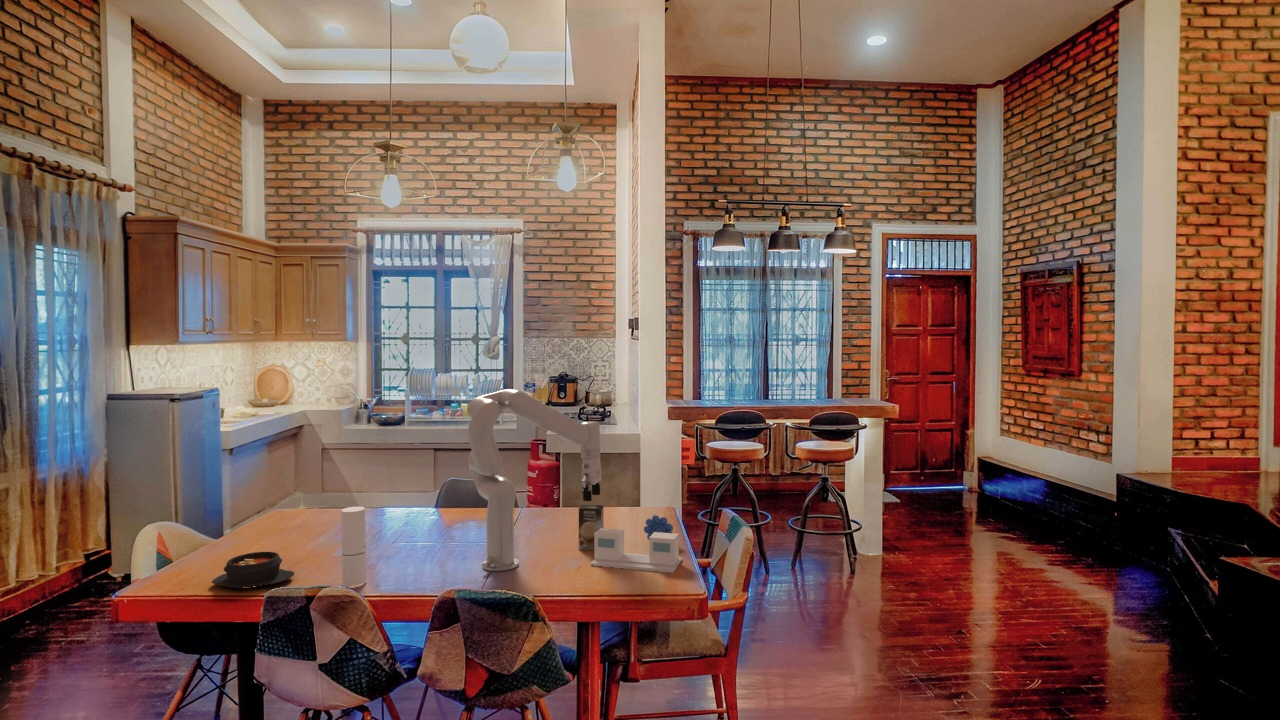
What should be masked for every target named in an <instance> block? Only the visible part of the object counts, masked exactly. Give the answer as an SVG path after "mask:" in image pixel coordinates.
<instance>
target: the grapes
mask: <svg viewBox="0 0 1280 720" xmlns="http://www.w3.org/2000/svg"><path fill="white" fill-rule="evenodd" d="M645 524H646V525H645V526H644V528H643V531H644V532H645V534H647V536H646V537H647V540H648V541H649V537H650V536H651V535H652V534H653V533H654V532H660V533H673V532H672V531H673V529H674V526H673V524H671V523H670V522H669V523H668V518H666V517H663V516H661V517H659V516H658V515H656V514H654V515H652V517H651V518H647V519H645Z"/></svg>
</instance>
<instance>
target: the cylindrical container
mask: <svg viewBox="0 0 1280 720" xmlns="http://www.w3.org/2000/svg"><path fill="white" fill-rule="evenodd" d="M340 513H341V519H340V521H341V556H342V557H341V562H342V564H341V565H342V566H341V567H342V568H341V569H342V587H343V586H347V587H349V586H352V585H358V584H361V583H364V582H365V581H366V582H367V552H366V507H364V506H348V507H345V508H342V509H341V511H340ZM343 584H344V585H343Z"/></svg>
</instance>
